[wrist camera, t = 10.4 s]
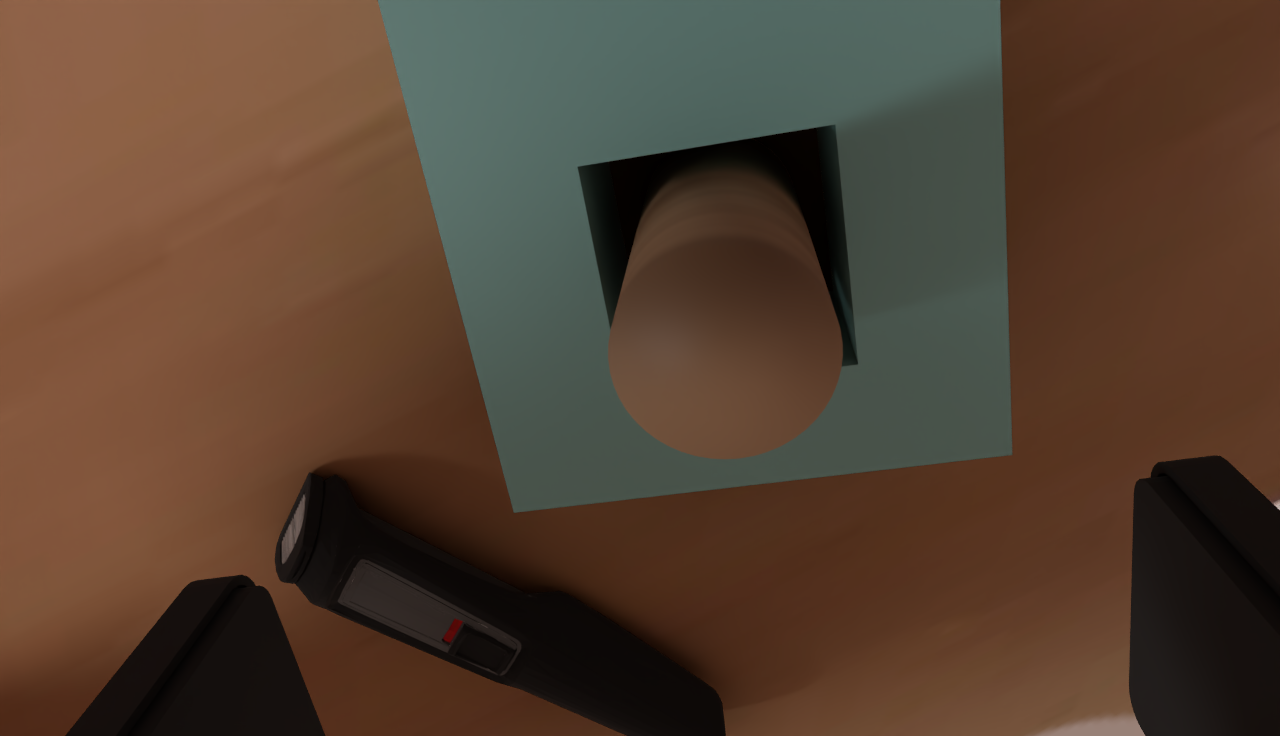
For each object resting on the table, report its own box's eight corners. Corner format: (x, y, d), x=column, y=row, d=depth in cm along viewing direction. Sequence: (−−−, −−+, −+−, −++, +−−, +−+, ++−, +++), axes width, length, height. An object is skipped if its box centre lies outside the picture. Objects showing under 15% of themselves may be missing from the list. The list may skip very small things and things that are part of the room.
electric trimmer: (688, 735, 34) (688, 810, 31) (276, 541, 31) (234, 602, 28) (746, 663, 32) (751, 734, 29) (319, 453, 30) (279, 509, 27)
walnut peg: (804, 268, 26) (852, 444, 17) (658, 289, 27) (630, 471, 18) (787, 120, 25) (830, 226, 15) (633, 145, 25) (587, 263, 16)
